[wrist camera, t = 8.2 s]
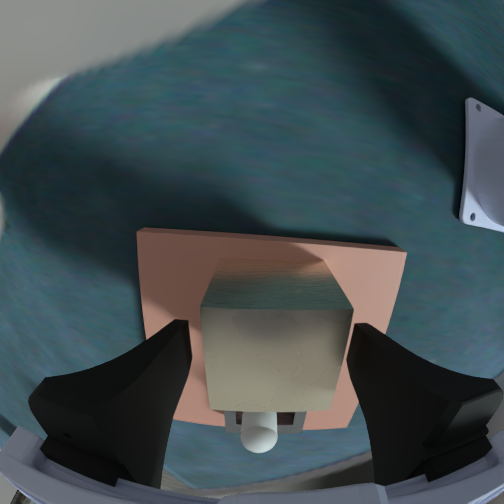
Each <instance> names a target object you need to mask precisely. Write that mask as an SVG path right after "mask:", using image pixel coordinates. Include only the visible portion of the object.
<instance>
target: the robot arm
mask: <svg viewBox="0 0 504 504" xmlns="http://www.w3.org/2000/svg"><path fill="white" fill-rule="evenodd" d="M476 106H477V108H478V110H477V108H476ZM465 111H466V150H465V168H464V180H463V190H462V198H461V206H460V212H459V218H460V221H461V222H463V223H465V224H469V225H474V226H479V227H483V228H488V229H492V230H497V231H501V232H504V115H502V114H500V113H499V112H497V111H495V110H494V109H492V108H490V107H488V106H487V105H485V104H483V103H481V102H479V101H478V100H476V99H474V98H467V99H466V100H465ZM471 214H472V217H471V219H470V216H471ZM192 357H193V356H192V348H191V340H190V331H189V321H188V320H181V319H174V320H173V321H171V322H170V323H169V324H167V325H166V326H165V327H163V328H162V329H161V330H159V331H158V332H157V333H155V334H154V335H153V336H151V337H150V338H148V339H147V340H146V341H144V342H142V343H141V344H139V345H138V346H136V347H135V348H133V349H132V350H130V351H128V352H126V353H125V354H123V355H121V356H119V357H117V358H115V359H113V360H110V361H108V362H106V363H103V364H100V365H98V366H95V367H93V368H90V369H86V370H83V371H79V372H75V373H71V374H66V375H60V376H53V377H45V378H44V380H43V381H42V382H41V383H40V384H39V386H38V387H37V388H36V389H35V391H34V392H33V393H32V394H31V395H30V397H29V400H28V403H29V406H30V409H31V411H32V413H33V415H34V416H35V418H36V419H37V421H38V422H39V424H40V425H41V427H42V428H43V430H44V431H45V432H46V434H47V435H48V437H47V438H46V440H45V441H44V440H43V439H42V438H40V437H39V436H38V435H36V434H34V433H32V432H31V431H29V430H27V429H25V428H24V427H22V426H18V427H17V428H16V430H15V431H14V433H13V434H12V435H11V437H10V438H9V440H8V441H7V443H6V444H5V446H4V447H3V449H2V450H1V451H0V474H1V475H2V476H3V477H4V478H5V479H7V480H8V481H9V482H10V483H11V484H12V485H13V486H14V487H16V488H17V489H18V490H19V491H20V492H21V493H23V494H24V495H25V496H26V497H28V498H29V499H31V500H32V501H34V502H35V503H37V504H486V503H487V502H488V501H490V500H492V499H493V498H495V497H496V496H498V495H499V494H500V493H501V492H502V491H504V430H502V431H500V432H499V433H497V434H495V435H494V436H492V437H491V438H490V439H489V440H488V439H487V437H486V435H487V434H488V432H489V431H488V428H487V427H486V424H487V423H488V422H489V420H490V419H491V417H492V416H493V415H494V413H495V412H496V410H497V409H498V407H499V405H500V404H501V401H502V399H503V391H502V389H501V388H500V387H499V386H498V384H497V383H496V382H495V381H494V380H493V379H487V378H480V377H474V376H469V375H465V374H461V373H458V372H454V371H451V370H448V369H446V368H443V367H440V366H438V365H435V364H433V363H431V362H429V361H427V360H425V359H423V358H421V357H419V356H417V355H415V354H414V353H412V352H410V351H409V350H407V349H405V348H404V347H402V346H401V345H399V344H398V343H396V342H395V341H393V340H392V339H391V338H389V337H388V336H386V335H385V334H383V333H382V332H381V331H379V330H378V329H376V328H375V327H373V326H372V325H370V324H369V323H354V328H353V332H352V336H351V341H350V345H349V349H348V353H347V357H346V362H347V367H348V372H349V376H350V379H351V382H352V385H353V387H354V390H355V393H356V395H357V398H358V401H359V403H360V406H361V409H362V411H363V414H364V417H365V421H366V425H367V429H368V434H369V439H370V445H371V451H372V458H373V466H374V476H375V477H374V479H375V483H365V484H355V485H349V486H343V487H337V488H330V489H320V490H310V491H297V492H256V493H238V494H234V495H229V496H225V497H223V498H221V499H217V498H208V497H200V496H193V495H187V494H181V493H176V492H171V491H166V490H161V489H160V486H161V478H162V470H163V464H164V458H165V452H166V447H167V442H168V437H169V432H170V428H171V424H172V420H173V417H174V413H175V411H176V408H177V405H178V403H179V400H180V397H181V395H182V392H183V389H184V387H185V384H186V381H187V379H188V376H189V371H190V367H191V362H192Z"/></svg>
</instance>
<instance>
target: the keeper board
mask: <svg viewBox="0 0 504 504" xmlns="http://www.w3.org/2000/svg"><path fill="white" fill-rule="evenodd" d="M137 251H138V267H139V280H140V291H141V301H142V310H143V318H144V326H145V333H146V340H147V339H148V338H150V337H151V336H153V335H154V334H155V333H157V332H158V331H159V330H161V329H162V328H163V327H165V326H166V325H167V324H169V323H170V322H171V321H173V320H174V319H181V320H188V321H189V331H190V340H191V348H192V356H193V357H192V362H191V367H190V371H189V376H188V379H187V381H186V384H185V387H184V389H183V392H182V395H181V397H180V400H179V403H178V405H177V408H176V411H175V413H174V417H173V419H175V420H181V421H187V422H193V423H200V424H207V425H215V426H224V427H225V417H224V410H213V409H210V405H209V397H208V389H207V381H206V372H205V363H204V353H203V343H202V332H201V320H200V308H199V307H200V305H201V302H202V300H203V297H204V295H205V293H206V290H207V288H208V286H209V284H210V281H211V279H212V277H213V274H214V272H215V270H216V267H217V265H218V263H219V261H220V258H245V259H289V260H324V261H325V263H326V264H327V266H328V268H329V269H330V271H331V272H332V274H333V275H334V277H335V279H336V280H337V282H338V283H339V285H340V287H341V288H342V290H343V292H344V293H345V295H346V296H347V298H348V300H349V301H350V303H351V305H352V306H353V308H354V313H353V318H352V323H351V328H350V333H349V337H348V342H347V346H346V350H345V355H344V359H343V363H342V367H341V371H340V375H339V378H338V382H337V386H336V389H335V393H334V396H333V400H332V403H331V407H330V410H322V411H307V413H306V418H305V422H304V426H303V430H313V429H333V428H345V427H347V425H348V423H349V421H350V419H351V417H352V415H353V413H354V411H355V409H356V407H357V404H358V402H359V401H358V398H357V395H356V393H355V390H354V387H353V385H352V382H351V379H350V376H349V372H348V367H347V362H346V357H347V353H348V349H349V345H350V341H351V336H352V332H353V328H354V323H369V324H370V325H372V326H373V327H375V328H376V329H378V330H379V331H381V332H382V333H383V334H385V333H386V330H387V327H388V324H389V320H390V317H391V314H392V311H393V307H394V304H395V300H396V296H397V293H398V289H399V285H400V281H401V277H402V273H403V269H404V264H405V260H406V255H407V252H406V251H404V250H403V249H401V248H400V247H393V246H382V245H372V244H361V243H351V242H339V241H328V240H316V239H304V238H292V237H280V236H267V235H254V234H240V233H226V232H211V231H196V230H180V229H164V228H146V227H144V228H142V229H140V230H139V231H137ZM241 441H242V444H243V445H244V446H245V448H247V449H248V450H250V451H252V452H255V453H262V452H266V451H268V450H270V449H271V448H272V447H273V446H274V445H275V444H276V441H277V414H276V412H243V414H242V426H241Z"/></svg>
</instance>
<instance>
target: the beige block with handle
mask: <svg viewBox="0 0 504 504" xmlns="http://www.w3.org/2000/svg"><path fill="white" fill-rule="evenodd" d="M199 308H200V320H201V332H202V343H203V353H204V363H205V372H206V381H207V389H208V397H209V405H210V409H213V410H224V417H225V428H226V432H234V433H241V426H242V414H243V412H276V414H277V434H284V433H302V430H303V426H304V422H305V418H306V413H307V411H322V410H330V407H331V403H332V400H333V396H334V393H335V389H336V386H337V382H338V378H339V375H340V371H341V367H342V363H343V359H344V355H345V350H346V346H347V342H348V337H349V333H350V328H351V323H352V318H353V313H354V308H353V306H352V305H351V303H350V301H349V300H348V298H347V296H346V295H345V293H344V292H343V290H342V288H341V287H340V285H339V283H338V282H337V280H336V279H335V277H334V275H333V274H332V272H331V271H330V269H329V268H328V266H327V264H326V263H325V261H324V260H289V259H245V258H220V261H219V263H218V265H217V267H216V270H215V272H214V274H213V277H212V279H211V281H210V284H209V286H208V288H207V290H206V293H205V295H204V297H203V300H202V302H201V305H200V307H199Z"/></svg>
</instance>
